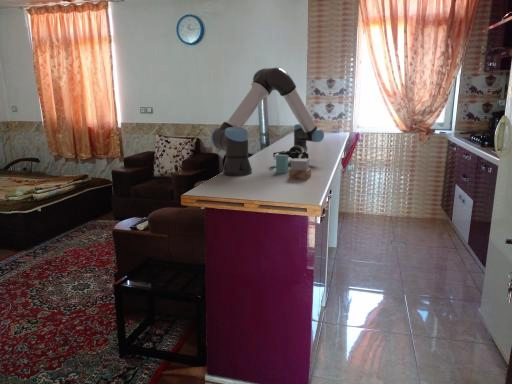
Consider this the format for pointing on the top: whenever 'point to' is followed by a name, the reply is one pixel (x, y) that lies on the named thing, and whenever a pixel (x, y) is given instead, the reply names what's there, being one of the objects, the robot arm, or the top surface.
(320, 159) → the top surface
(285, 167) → the column block
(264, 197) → the top surface
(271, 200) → the top surface
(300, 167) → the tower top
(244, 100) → the robot arm
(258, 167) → the top surface
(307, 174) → the tower base
